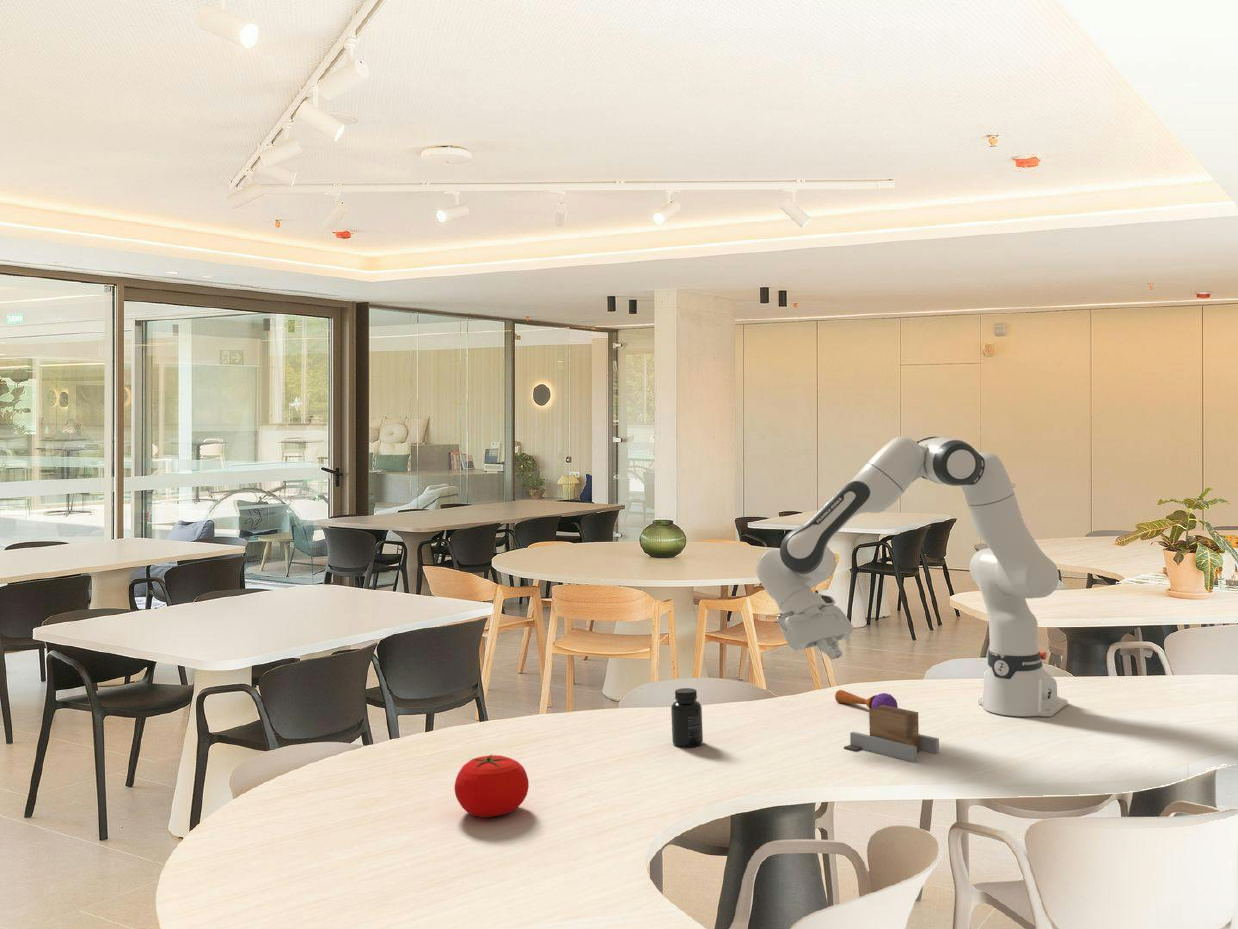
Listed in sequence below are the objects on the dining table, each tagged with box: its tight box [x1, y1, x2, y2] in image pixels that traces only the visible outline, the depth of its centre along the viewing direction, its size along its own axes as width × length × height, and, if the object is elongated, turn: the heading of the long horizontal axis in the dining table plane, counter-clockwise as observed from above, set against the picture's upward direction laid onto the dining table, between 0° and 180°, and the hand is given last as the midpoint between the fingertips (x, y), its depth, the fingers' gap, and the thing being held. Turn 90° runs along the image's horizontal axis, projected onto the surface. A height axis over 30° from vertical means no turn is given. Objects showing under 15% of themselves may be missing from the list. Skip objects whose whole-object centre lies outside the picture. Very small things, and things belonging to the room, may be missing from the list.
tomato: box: [453, 754, 530, 818], centre depth 201 cm, size 14×13×10 cm
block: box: [868, 705, 920, 753], centre depth 233 cm, size 5×9×8 cm, turn 41°
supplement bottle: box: [670, 687, 704, 748], centre depth 241 cm, size 7×7×12 cm
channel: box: [843, 731, 940, 763], centre depth 233 cm, size 14×16×3 cm
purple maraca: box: [834, 689, 899, 710], centre depth 265 cm, size 6×6×20 cm
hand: (837, 657), depth 247 cm, fingers closed
